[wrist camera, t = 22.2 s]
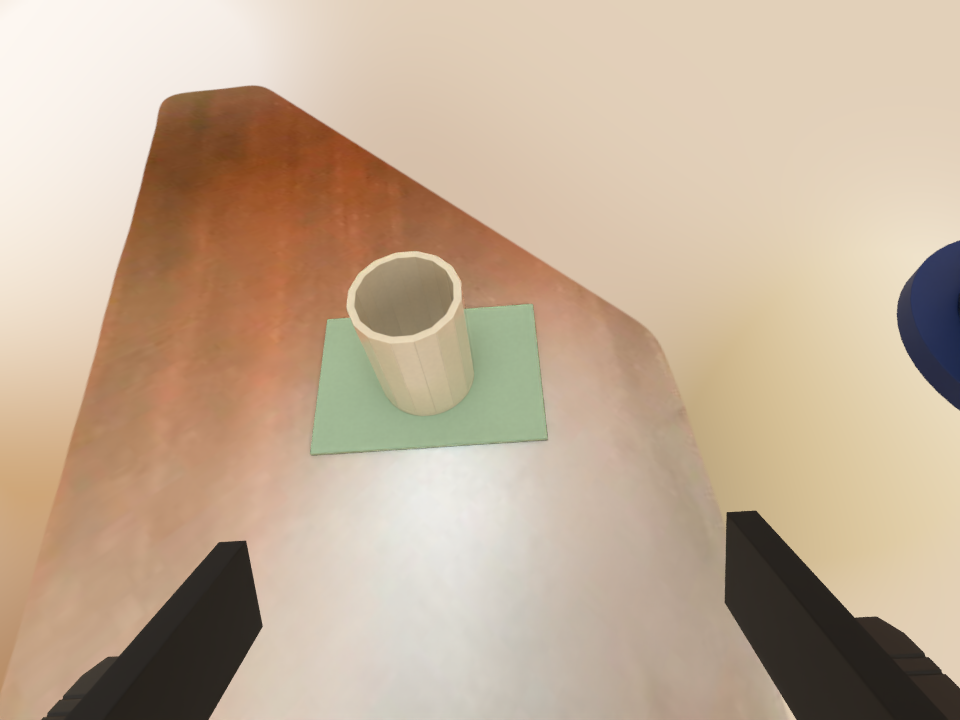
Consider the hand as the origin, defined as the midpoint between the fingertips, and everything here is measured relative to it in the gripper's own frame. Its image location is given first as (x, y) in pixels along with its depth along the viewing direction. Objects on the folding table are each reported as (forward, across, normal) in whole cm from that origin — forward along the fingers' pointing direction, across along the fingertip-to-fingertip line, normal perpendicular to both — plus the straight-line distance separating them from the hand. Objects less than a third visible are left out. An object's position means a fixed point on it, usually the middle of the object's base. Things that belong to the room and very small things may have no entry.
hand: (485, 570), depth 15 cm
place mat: (+36, -6, -4) cm, 36 cm away
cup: (+35, -6, -3) cm, 36 cm away
